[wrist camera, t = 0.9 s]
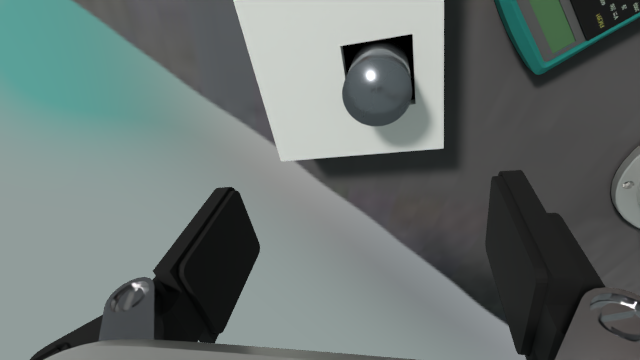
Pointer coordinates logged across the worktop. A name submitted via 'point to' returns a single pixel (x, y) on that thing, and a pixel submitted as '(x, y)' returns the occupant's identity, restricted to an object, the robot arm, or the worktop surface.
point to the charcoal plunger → (378, 84)
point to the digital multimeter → (561, 26)
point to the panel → (341, 73)
